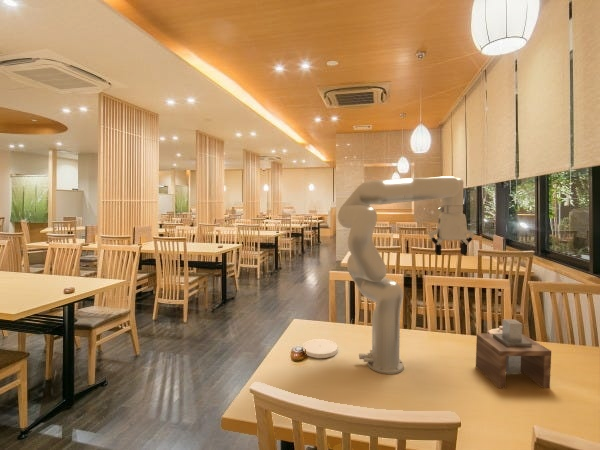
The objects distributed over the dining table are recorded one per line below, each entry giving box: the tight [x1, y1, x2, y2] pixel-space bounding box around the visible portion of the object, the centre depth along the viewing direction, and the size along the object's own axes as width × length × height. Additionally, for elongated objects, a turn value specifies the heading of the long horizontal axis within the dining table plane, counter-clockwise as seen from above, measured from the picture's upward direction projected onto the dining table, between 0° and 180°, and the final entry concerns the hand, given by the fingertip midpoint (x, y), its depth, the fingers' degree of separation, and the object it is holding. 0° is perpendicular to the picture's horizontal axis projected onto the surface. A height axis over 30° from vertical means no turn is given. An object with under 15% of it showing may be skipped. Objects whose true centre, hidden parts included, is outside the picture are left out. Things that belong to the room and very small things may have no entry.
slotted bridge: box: [475, 333, 552, 389], centre depth 112 cm, size 16×14×12 cm
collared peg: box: [493, 318, 532, 375], centre depth 112 cm, size 8×8×17 cm
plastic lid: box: [302, 338, 339, 359], centre depth 133 cm, size 14×14×2 cm
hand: (450, 254), depth 130 cm, fingers open, 9 cm apart
